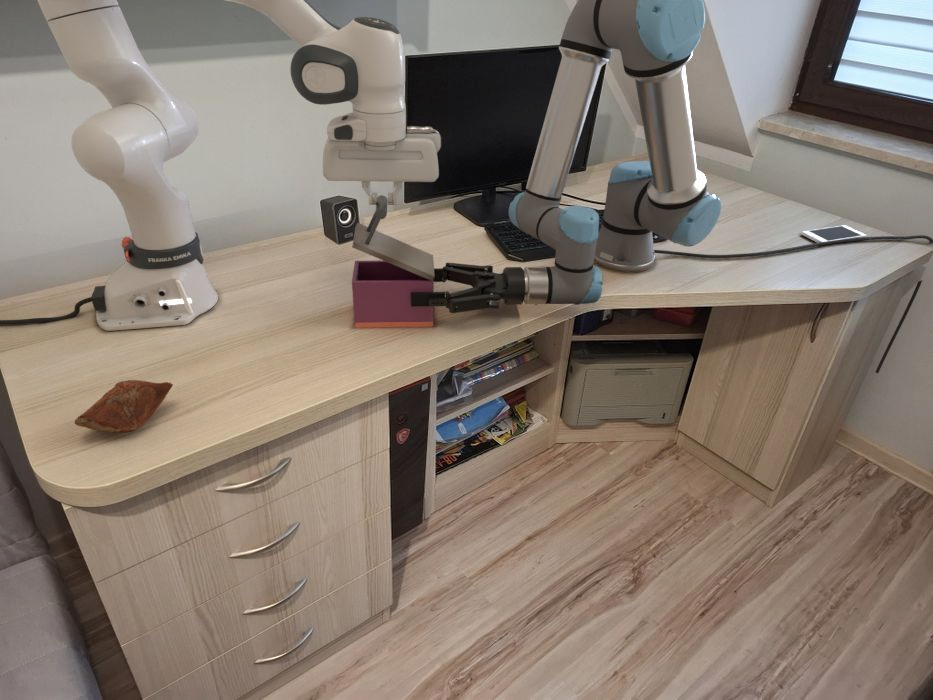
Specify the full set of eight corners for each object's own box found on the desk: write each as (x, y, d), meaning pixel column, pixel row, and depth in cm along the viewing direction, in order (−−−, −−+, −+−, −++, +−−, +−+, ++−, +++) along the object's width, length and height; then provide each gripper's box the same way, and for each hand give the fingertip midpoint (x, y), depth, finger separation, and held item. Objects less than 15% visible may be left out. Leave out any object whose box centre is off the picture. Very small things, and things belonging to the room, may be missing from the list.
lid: (352, 247, 115) (370, 206, 111) (355, 227, 123) (372, 188, 119) (432, 281, 120) (452, 242, 116) (430, 259, 128) (449, 223, 124)
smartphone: (800, 234, 170) (801, 231, 170) (844, 227, 175) (845, 224, 174) (821, 245, 165) (822, 241, 164) (865, 238, 169) (867, 234, 169)
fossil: (179, 377, 103) (140, 354, 94) (189, 423, 99) (149, 403, 90) (107, 409, 103) (61, 389, 94) (114, 456, 99) (67, 439, 90)
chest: (355, 327, 124) (351, 282, 119) (357, 304, 132) (354, 260, 127) (433, 326, 126) (433, 281, 120) (431, 303, 133) (431, 260, 128)
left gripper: (440, 122, 112) (439, 198, 119) (321, 119, 110) (328, 197, 117) (442, 131, 106) (440, 210, 114) (317, 129, 105) (324, 209, 112)
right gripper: (530, 330, 120) (411, 332, 119) (514, 277, 139) (410, 278, 137) (534, 296, 116) (410, 297, 114) (516, 245, 134) (410, 246, 133)
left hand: (382, 203), depth 116 cm, fingers closed
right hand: (410, 287), depth 126 cm, fingers closed on chest, 9 cm apart
